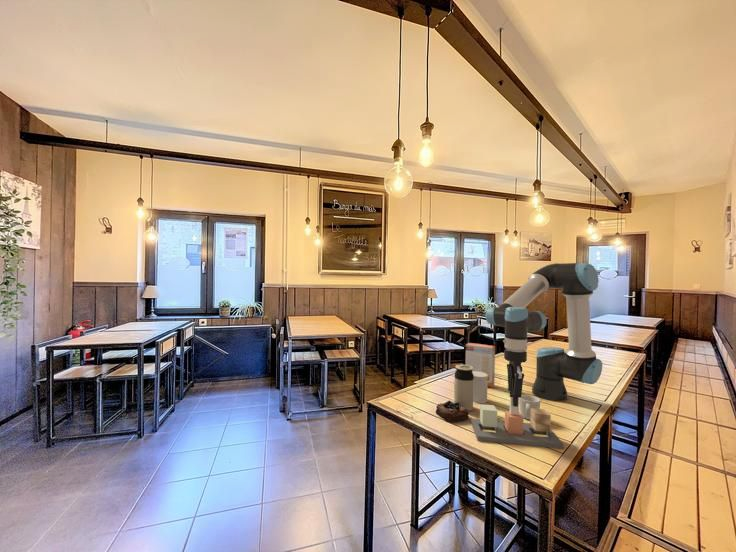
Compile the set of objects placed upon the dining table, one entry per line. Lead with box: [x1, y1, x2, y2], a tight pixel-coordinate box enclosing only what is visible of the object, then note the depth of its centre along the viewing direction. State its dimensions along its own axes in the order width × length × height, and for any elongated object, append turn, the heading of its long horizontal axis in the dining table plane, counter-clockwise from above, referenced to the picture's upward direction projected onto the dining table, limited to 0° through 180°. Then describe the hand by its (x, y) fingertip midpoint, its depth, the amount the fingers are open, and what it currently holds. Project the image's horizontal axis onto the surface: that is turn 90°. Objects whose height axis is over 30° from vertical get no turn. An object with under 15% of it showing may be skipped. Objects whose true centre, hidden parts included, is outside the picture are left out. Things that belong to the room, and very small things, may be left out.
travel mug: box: [453, 364, 474, 412], centre depth 142 cm, size 8×8×18 cm
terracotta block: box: [504, 410, 525, 435], centre depth 119 cm, size 5×5×6 cm
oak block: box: [529, 408, 552, 432], centre depth 117 cm, size 5×5×6 cm
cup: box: [519, 394, 542, 421], centre depth 132 cm, size 11×8×8 cm
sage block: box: [479, 403, 498, 427], centre depth 120 cm, size 5×5×6 cm
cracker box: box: [465, 342, 496, 388], centre depth 173 cm, size 14×6×21 cm, turn 55°
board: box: [470, 418, 564, 449], centre depth 119 cm, size 28×14×2 cm, turn 81°
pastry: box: [435, 400, 470, 424], centre depth 133 cm, size 11×12×6 cm
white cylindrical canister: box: [472, 371, 488, 404], centre depth 151 cm, size 8×8×12 cm
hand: (514, 413), depth 119 cm, fingers closed
